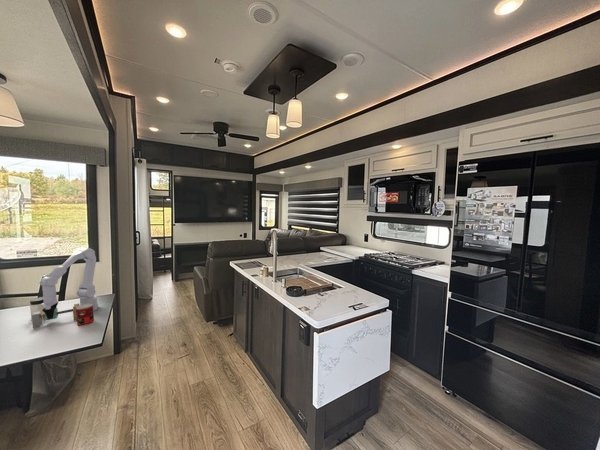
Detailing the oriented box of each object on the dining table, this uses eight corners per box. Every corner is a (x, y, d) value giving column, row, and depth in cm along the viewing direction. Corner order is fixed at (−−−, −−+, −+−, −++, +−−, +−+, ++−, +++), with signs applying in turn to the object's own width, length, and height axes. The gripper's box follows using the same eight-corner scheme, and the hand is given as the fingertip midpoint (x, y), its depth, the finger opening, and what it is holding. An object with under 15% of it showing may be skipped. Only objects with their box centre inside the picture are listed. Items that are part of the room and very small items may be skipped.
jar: (27, 319, 158) (25, 301, 157) (38, 314, 166) (37, 296, 165) (42, 318, 159) (41, 300, 158) (53, 313, 167) (52, 296, 166)
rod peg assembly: (80, 314, 164) (79, 302, 164) (78, 319, 158) (77, 306, 157) (35, 323, 152) (34, 310, 151) (32, 328, 146) (31, 315, 145)
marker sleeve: (58, 315, 157) (57, 308, 156) (56, 318, 153) (55, 310, 152) (47, 317, 154) (46, 310, 153) (45, 320, 150) (44, 312, 149)
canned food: (74, 324, 151) (73, 307, 151) (90, 319, 159) (89, 302, 158) (80, 327, 148) (79, 309, 147) (96, 321, 155) (95, 304, 154)
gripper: (43, 293, 156) (45, 314, 157) (37, 300, 144) (39, 322, 145) (58, 291, 160) (60, 311, 161) (54, 298, 148) (55, 319, 149)
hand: (51, 316), depth 153 cm, fingers open, 6 cm apart
